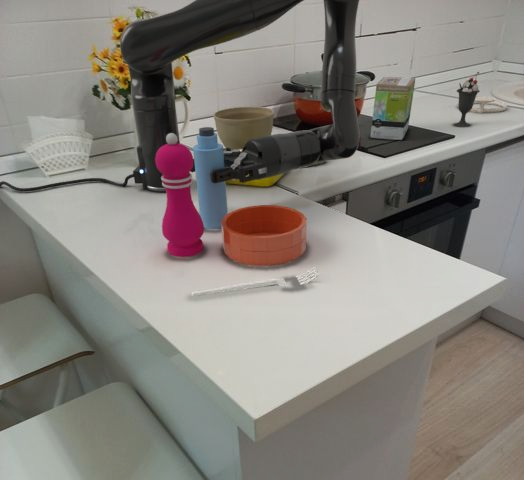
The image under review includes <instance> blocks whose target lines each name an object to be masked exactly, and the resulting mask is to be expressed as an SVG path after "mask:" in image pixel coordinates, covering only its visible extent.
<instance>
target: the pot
mask: <svg viewBox="0 0 524 480" xmlns="http://www.w3.org/2000/svg"><path fill="white" fill-rule="evenodd" d="M307 220H308V219H307V217H306V216H305V214H303V213H302V212H301V211H299V210H297V209H296V208H292V207H289V206H283V205H275V204H274V205H273V204H259V205H251V206H245V207H241V208H237V209H235V210H233V211H231V212H228V214H227V215H226V216H224V217H223V219H222V222H221V228H220V229H221V239H222V249H223V252H224V255H225V256H226V257H227V258H228V259H230V260H232V261H234V262H236V263H240V264H243V265H249V266H260V267H263V266H265V267H266V266H277V265H282V264H286V263H289V262H293V261H294V260H296V259H298V258H300V257H301V256H302V255H303V254H304V253H305V252H306V250H307V225H308V224H307Z"/></svg>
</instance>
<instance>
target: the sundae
mask: <svg viewBox="0 0 524 480" xmlns="http://www.w3.org/2000/svg"><path fill="white" fill-rule="evenodd" d="M479 74H480V71H477V72H476V75H475V78H477V76H478V75H479ZM477 83H478V80H477V79H474V77H470V78H469V79H468V80H465V81H464V83H462V84H461V82H459V87H460V88H458V89H457V90H456V92H457V93H458V104H457V109H458V111H459V112H460V113H461V116H460V120H459V121H458V122H455V123H453V126H455V127H459V128H466V127H467V128H468V127H470V126H471V124H470V123H467V122H466V116H467V114H468V113H469V112H471V111H470V110H471V109H472V108H474V101H475V98H476V97H477V95H478V94H479V93H480V91H481V90H479V85H478V84H477Z"/></svg>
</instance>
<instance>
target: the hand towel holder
mask: <svg viewBox="0 0 524 480" xmlns="http://www.w3.org/2000/svg"><path fill="white" fill-rule="evenodd" d="M474 104H476V105H479V106H478V107H472V109H471V110H470V111H469V112H473V113H478V114H483V113H499V112H504V111H506V110H507V109H508V105H507V104H506V103H504V102H500V101H497V99H496V98H495V97H492V96H476V98H475V101H474ZM474 104H473V105H474ZM485 105H492V106H497V108H485Z"/></svg>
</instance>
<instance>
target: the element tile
mask: <svg viewBox="0 0 524 480" xmlns="http://www.w3.org/2000/svg"><path fill="white" fill-rule="evenodd" d="M235 150H240V152H241V151H242V150H243V149H235ZM284 175H286V173H284V174H280V175H276V176H272V177H268V178H264V179H259V180H256V179H255V180H251V181H248V182H244V183H241V182H239V179H238V180H237V181H232V180H228V181H225V182H226V184H229V185H240V186H251V187H261V188H267V187H268V188H269V187H271V186H273V185H275V183H277V182H278V181H279V180H280V179H281V178H282V177H283V176H284ZM247 176H249V174H248V175H247ZM247 176H246V177H247Z"/></svg>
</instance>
